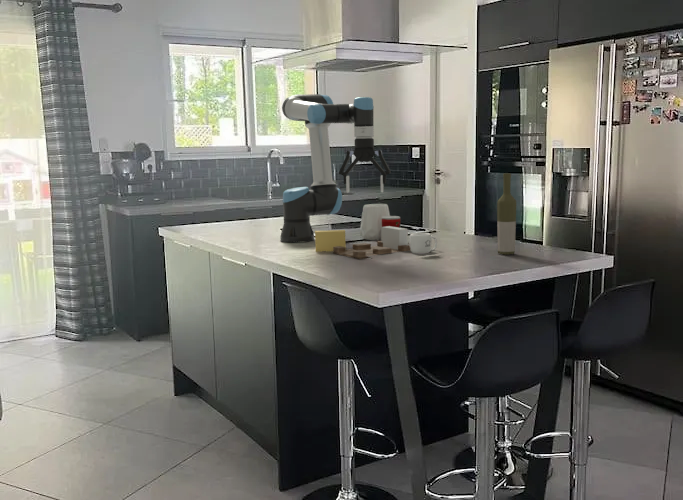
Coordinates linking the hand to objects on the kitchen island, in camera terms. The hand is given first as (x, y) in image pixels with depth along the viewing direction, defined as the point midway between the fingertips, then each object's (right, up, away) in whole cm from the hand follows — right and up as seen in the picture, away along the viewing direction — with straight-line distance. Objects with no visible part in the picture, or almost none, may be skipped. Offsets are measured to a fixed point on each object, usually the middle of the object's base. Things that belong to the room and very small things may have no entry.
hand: (365, 192), depth 271 cm
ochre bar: (-14, -23, +5) cm, 27 cm away
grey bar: (+12, -22, +2) cm, 25 cm away
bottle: (+52, -24, -15) cm, 59 cm away
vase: (+6, -18, +35) cm, 40 cm away
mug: (+22, -24, -9) cm, 34 cm away
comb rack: (+3, -24, -4) cm, 24 cm away
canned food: (+12, -20, +22) cm, 32 cm away
